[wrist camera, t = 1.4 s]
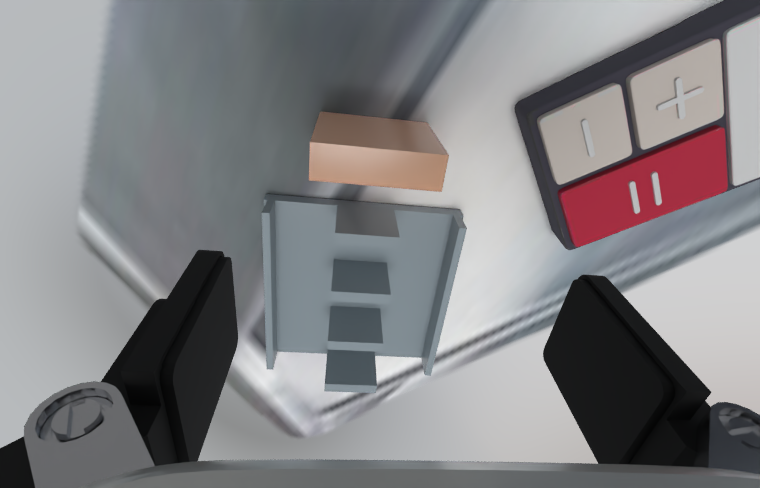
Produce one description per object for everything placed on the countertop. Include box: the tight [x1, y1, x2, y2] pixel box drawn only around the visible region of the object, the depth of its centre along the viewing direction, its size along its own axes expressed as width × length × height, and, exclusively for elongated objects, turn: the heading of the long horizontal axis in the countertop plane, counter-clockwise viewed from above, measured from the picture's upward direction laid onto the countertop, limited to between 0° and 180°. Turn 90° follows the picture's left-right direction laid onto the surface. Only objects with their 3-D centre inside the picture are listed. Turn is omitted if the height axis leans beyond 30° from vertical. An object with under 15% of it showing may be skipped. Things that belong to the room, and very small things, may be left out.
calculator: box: [515, 0, 760, 250], centre depth 26 cm, size 11×4×15 cm
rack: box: [262, 194, 467, 393], centre depth 31 cm, size 14×14×5 cm
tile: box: [309, 111, 449, 192], centre depth 24 cm, size 2×7×7 cm, turn 84°
